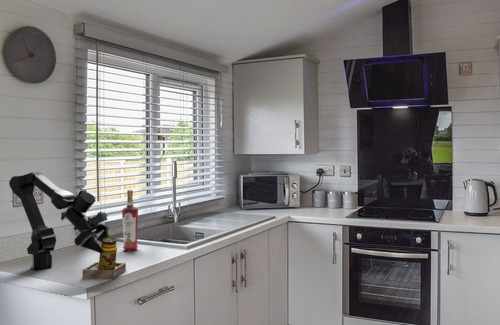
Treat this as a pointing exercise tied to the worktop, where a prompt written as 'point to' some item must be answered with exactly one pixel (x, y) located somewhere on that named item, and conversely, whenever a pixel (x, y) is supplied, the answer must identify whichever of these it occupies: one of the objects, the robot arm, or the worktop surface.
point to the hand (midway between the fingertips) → (107, 249)
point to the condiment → (107, 255)
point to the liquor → (130, 223)
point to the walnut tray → (104, 272)
